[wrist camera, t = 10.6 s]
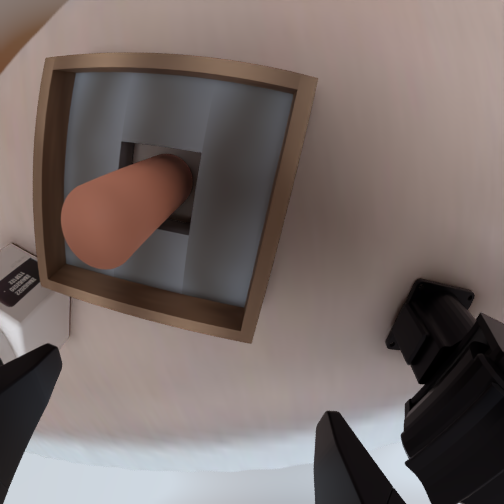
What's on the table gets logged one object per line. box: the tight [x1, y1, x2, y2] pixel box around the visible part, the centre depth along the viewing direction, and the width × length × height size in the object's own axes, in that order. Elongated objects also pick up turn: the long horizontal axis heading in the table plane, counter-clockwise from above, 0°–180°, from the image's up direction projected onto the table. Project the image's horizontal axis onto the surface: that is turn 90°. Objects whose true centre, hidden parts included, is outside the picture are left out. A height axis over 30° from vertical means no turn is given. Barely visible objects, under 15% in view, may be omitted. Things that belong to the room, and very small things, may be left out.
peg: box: [61, 154, 193, 269], centre depth 15 cm, size 4×4×9 cm
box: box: [33, 53, 318, 344], centre depth 17 cm, size 15×15×4 cm
